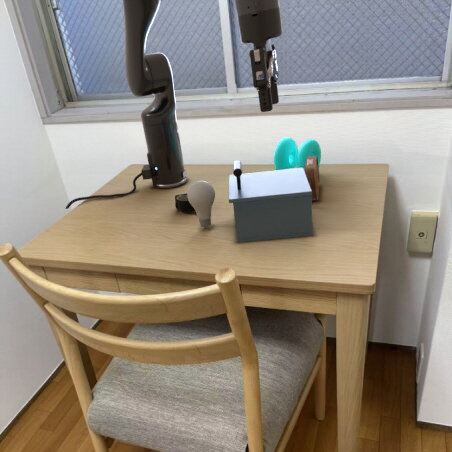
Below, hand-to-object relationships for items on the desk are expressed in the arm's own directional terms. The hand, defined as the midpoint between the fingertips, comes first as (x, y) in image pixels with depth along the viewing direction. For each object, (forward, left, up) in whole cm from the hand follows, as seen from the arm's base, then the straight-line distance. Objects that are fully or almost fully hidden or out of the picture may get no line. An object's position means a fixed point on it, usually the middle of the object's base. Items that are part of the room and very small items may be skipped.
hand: (270, 107), depth 91 cm
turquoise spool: (+8, +31, -25) cm, 41 cm away
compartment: (-1, +2, -25) cm, 25 cm away
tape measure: (-21, +15, -25) cm, 36 cm away
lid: (-1, +2, -16) cm, 16 cm away
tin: (+10, +17, -25) cm, 32 cm away
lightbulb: (-16, +3, -25) cm, 30 cm away
